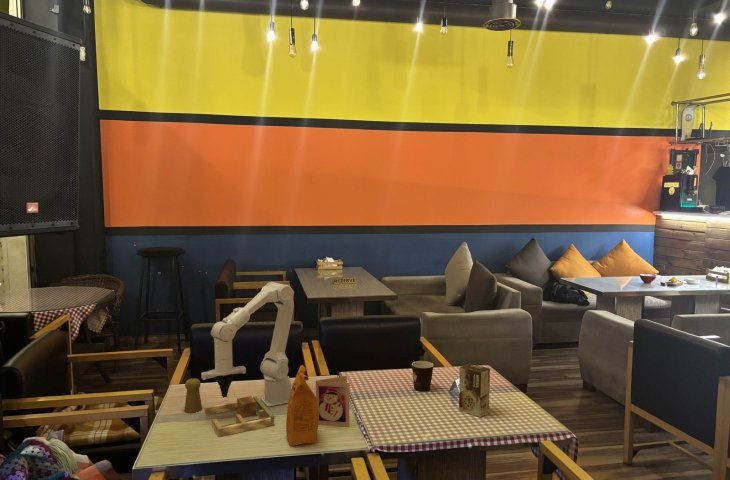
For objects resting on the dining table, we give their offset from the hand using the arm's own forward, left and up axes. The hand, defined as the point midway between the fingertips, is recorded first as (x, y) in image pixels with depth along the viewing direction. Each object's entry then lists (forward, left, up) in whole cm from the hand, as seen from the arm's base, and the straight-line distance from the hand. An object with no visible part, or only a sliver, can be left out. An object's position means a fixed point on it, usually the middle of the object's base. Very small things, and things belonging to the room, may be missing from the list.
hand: (224, 396), depth 182 cm
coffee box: (-80, +35, -8) cm, 88 cm away
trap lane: (-4, +4, -8) cm, 9 cm away
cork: (+8, -12, -8) cm, 16 cm away
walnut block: (-8, 0, -8) cm, 11 cm away
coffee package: (-18, +26, -8) cm, 32 cm away
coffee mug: (-77, +7, -8) cm, 78 cm away
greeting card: (-32, +20, -8) cm, 38 cm away
